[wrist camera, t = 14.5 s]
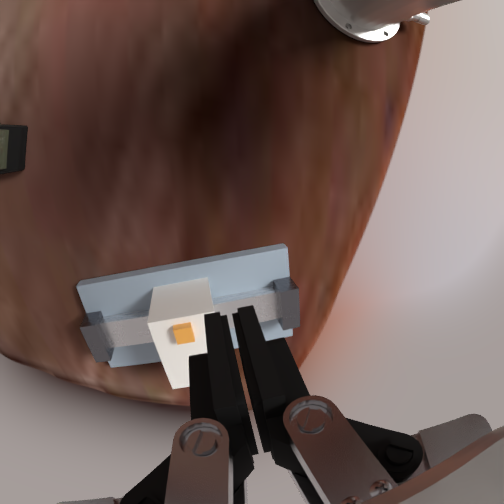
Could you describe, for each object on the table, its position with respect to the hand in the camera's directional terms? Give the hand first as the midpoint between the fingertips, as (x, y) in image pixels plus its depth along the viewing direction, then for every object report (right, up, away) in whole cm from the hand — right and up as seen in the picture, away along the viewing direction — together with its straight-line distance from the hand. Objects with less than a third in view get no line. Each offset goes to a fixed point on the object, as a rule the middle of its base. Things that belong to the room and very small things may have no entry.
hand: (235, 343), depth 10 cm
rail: (-7, -4, +23) cm, 24 cm away
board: (-7, -4, +24) cm, 25 cm away
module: (-7, -4, +23) cm, 24 cm away
